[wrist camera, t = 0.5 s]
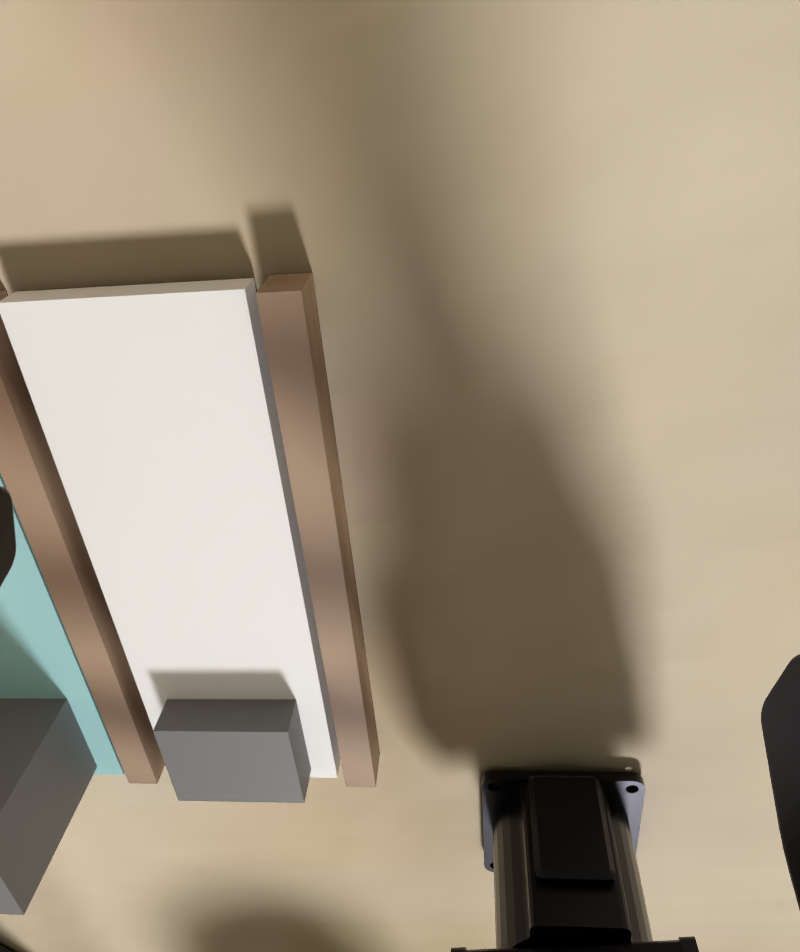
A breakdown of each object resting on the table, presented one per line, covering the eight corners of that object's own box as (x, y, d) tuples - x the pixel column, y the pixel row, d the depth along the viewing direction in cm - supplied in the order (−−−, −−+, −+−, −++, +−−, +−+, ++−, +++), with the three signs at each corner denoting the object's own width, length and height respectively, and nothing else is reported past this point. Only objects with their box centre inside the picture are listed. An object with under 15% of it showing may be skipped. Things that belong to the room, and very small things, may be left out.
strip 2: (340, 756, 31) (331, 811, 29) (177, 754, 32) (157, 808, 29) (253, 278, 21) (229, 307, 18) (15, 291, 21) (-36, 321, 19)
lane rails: (379, 753, 31) (375, 786, 30) (-53, 748, 33) (-75, 779, 32) (311, 272, 21) (301, 290, 19) (-311, 308, 23) (-361, 327, 21)
